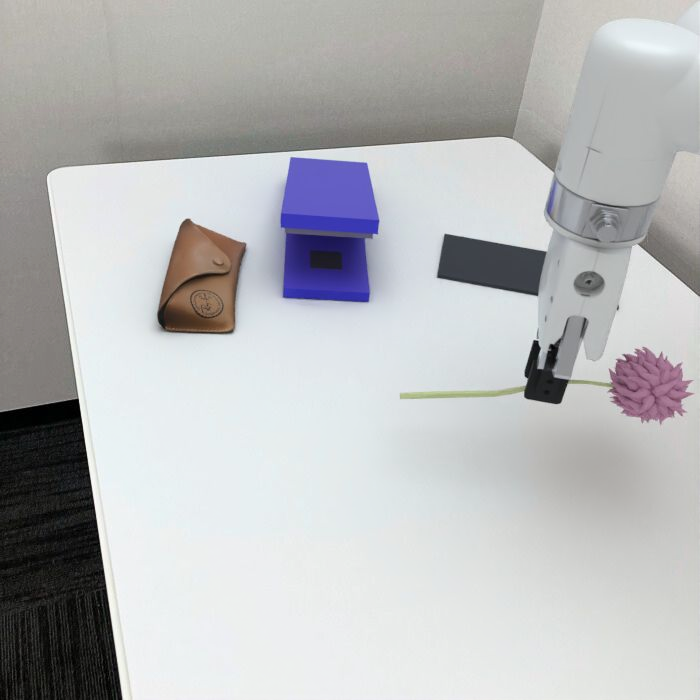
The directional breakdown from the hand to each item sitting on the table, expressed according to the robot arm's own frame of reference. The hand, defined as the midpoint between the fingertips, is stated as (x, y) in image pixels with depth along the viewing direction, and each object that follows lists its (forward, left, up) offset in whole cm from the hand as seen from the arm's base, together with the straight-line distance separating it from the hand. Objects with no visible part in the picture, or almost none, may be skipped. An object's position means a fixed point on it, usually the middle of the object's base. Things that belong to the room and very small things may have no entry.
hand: (541, 388), depth 68 cm
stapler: (+26, -32, -9) cm, 42 cm away
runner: (0, -32, -8) cm, 33 cm away
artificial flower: (0, +1, -2) cm, 2 cm away
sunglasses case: (+37, -17, -9) cm, 41 cm away
